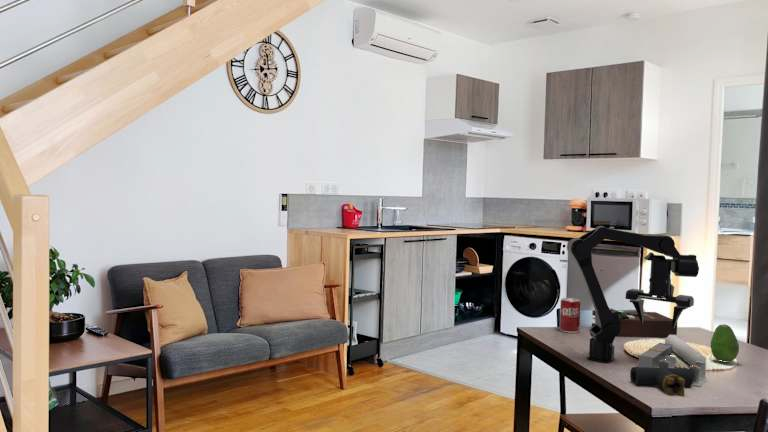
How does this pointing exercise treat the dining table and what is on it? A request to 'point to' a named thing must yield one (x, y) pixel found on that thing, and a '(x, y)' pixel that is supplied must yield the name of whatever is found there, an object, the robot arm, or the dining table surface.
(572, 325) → the soda can
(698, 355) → the tube
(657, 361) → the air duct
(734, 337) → the avocado
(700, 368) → the collar rail
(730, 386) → the dining table surface
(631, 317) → the brown flat box
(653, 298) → the robot arm
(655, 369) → the pipe connector
